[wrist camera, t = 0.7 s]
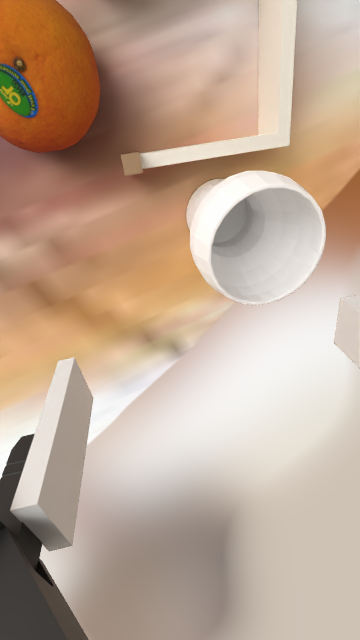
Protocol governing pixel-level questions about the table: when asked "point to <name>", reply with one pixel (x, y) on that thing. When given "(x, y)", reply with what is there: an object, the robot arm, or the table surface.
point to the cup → (255, 235)
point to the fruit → (45, 76)
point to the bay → (272, 96)
